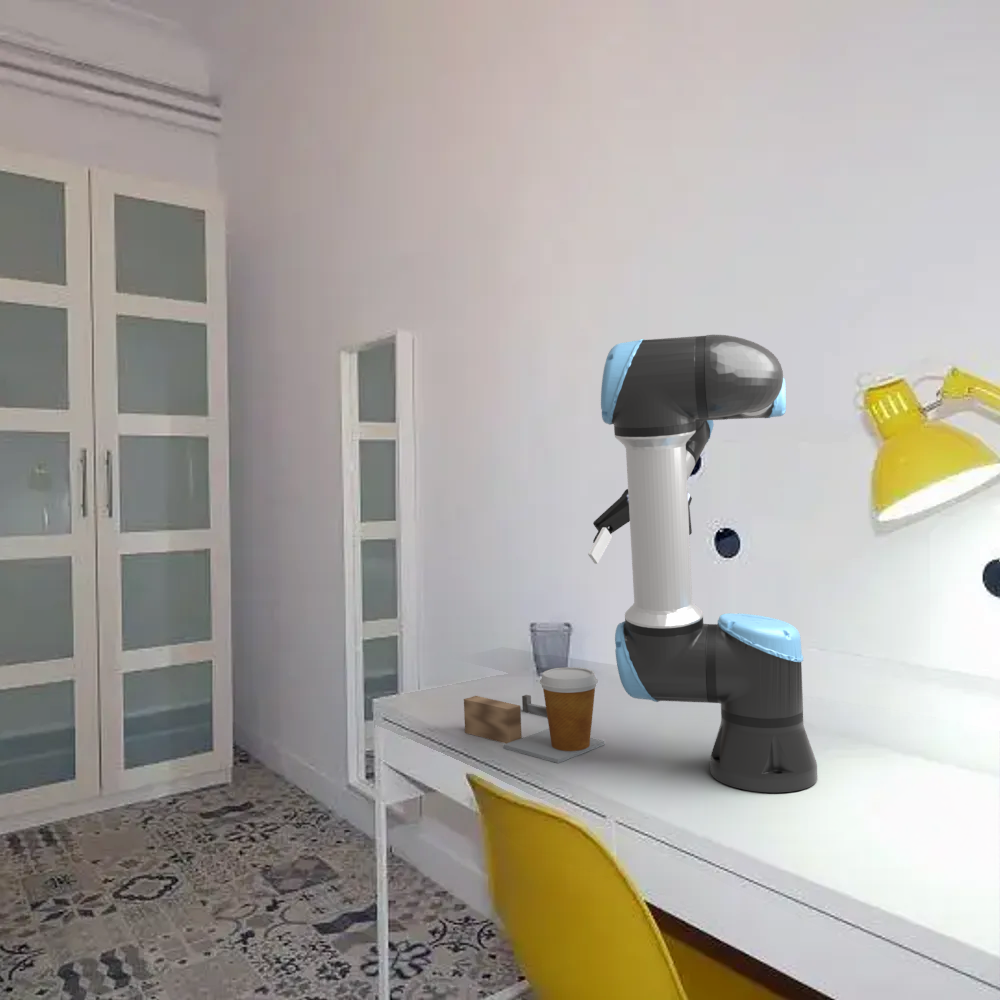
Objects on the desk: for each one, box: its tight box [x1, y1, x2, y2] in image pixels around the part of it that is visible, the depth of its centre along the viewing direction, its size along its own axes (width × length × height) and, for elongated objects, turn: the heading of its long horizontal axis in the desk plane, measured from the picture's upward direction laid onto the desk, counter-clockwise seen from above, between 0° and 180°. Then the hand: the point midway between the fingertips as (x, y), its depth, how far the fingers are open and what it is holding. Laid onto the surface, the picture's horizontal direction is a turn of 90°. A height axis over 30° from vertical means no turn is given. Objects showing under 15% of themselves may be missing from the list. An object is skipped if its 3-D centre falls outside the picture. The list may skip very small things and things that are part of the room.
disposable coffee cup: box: [539, 666, 599, 751], centre depth 142 cm, size 10×10×12 cm
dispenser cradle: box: [463, 694, 548, 744], centre depth 156 cm, size 13×18×6 cm
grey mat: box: [502, 728, 606, 764], centre depth 144 cm, size 12×12×1 cm
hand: (623, 560), depth 153 cm, fingers open, 13 cm apart
